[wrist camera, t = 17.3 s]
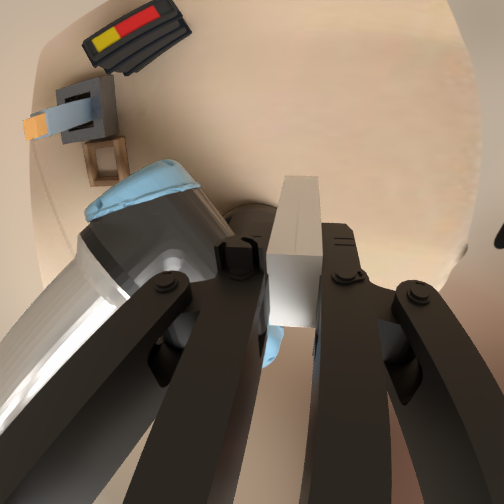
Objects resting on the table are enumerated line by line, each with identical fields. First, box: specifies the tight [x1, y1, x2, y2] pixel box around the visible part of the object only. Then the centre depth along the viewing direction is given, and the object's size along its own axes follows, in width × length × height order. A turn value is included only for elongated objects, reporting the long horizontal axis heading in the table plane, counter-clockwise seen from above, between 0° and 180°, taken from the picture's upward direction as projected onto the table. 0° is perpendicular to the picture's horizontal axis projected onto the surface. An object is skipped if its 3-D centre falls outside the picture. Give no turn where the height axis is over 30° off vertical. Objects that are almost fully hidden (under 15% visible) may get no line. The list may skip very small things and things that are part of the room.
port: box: [56, 75, 119, 144], centre depth 39 cm, size 10×10×4 cm
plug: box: [23, 97, 93, 140], centre depth 35 cm, size 4×4×15 cm
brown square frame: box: [83, 137, 130, 187], centre depth 45 cm, size 8×8×2 cm
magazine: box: [82, 0, 192, 76], centre depth 29 cm, size 4×13×15 cm, turn 118°
